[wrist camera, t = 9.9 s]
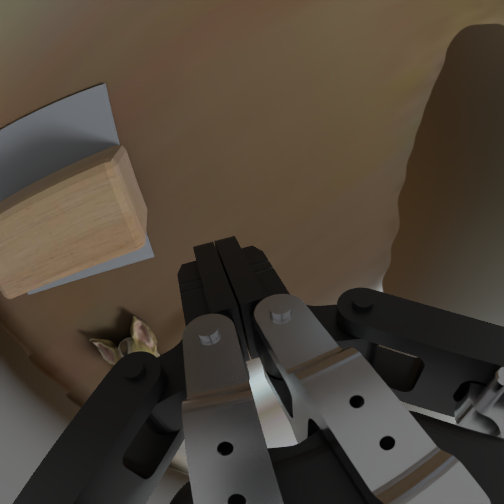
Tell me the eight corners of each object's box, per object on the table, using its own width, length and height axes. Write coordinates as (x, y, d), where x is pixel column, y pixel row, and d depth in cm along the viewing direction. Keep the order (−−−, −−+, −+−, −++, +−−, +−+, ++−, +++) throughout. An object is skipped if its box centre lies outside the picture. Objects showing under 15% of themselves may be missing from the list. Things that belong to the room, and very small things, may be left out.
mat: (-32, 149, 25) (-33, 150, 24) (105, 83, 28) (105, 83, 28) (29, 293, 37) (28, 294, 37) (154, 255, 41) (154, 256, 41)
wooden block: (150, 213, 38) (29, 261, 35) (124, 140, 32) (-1, 201, 30) (148, 250, 29) (6, 304, 27) (112, 156, 24) (-36, 233, 21)
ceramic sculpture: (143, 415, 45) (82, 366, 37) (141, 379, 52) (89, 329, 45) (193, 394, 45) (136, 338, 38) (187, 358, 53) (138, 302, 45)
